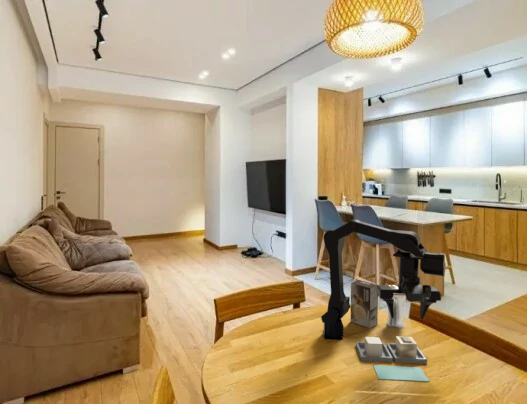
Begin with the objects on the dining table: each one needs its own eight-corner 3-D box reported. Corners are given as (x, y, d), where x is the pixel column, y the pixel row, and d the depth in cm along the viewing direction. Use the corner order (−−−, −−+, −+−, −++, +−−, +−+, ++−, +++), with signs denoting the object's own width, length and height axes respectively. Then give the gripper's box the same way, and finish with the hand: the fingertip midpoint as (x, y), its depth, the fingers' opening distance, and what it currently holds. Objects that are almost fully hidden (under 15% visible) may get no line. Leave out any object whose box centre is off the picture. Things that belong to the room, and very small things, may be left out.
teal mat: (379, 380, 98) (379, 378, 98) (373, 367, 105) (373, 365, 105) (429, 383, 97) (429, 381, 97) (420, 369, 104) (420, 367, 103)
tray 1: (361, 361, 108) (361, 356, 107) (355, 346, 117) (355, 341, 117) (392, 363, 107) (392, 357, 107) (384, 348, 116) (384, 343, 116)
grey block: (367, 356, 110) (368, 343, 110) (364, 349, 114) (365, 336, 114) (382, 357, 109) (382, 344, 109) (378, 350, 114) (378, 337, 114)
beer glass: (406, 329, 131) (407, 291, 130) (387, 327, 132) (388, 290, 131) (402, 322, 137) (403, 285, 136) (384, 320, 139) (385, 284, 138)
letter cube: (400, 358, 109) (400, 343, 108) (395, 350, 114) (396, 335, 113) (416, 359, 108) (417, 343, 108) (410, 351, 113) (411, 336, 113)
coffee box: (378, 324, 135) (379, 284, 134) (369, 329, 131) (371, 288, 130) (358, 317, 142) (358, 279, 141) (349, 321, 138) (350, 282, 137)
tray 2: (395, 363, 107) (395, 357, 107) (386, 348, 116) (386, 343, 116) (426, 364, 106) (427, 359, 106) (415, 349, 116) (415, 344, 115)
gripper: (385, 277, 102) (384, 328, 103) (450, 279, 100) (448, 330, 101) (376, 268, 113) (375, 313, 114) (434, 269, 111) (432, 315, 113)
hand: (406, 318), depth 110 cm, fingers open, 9 cm apart
